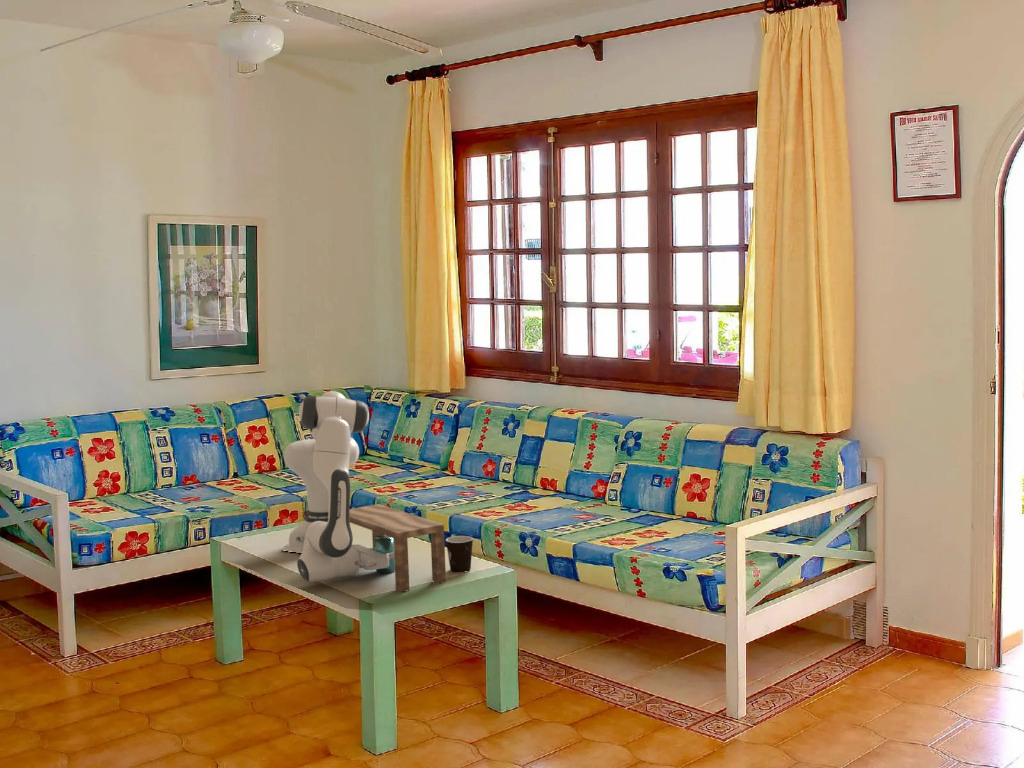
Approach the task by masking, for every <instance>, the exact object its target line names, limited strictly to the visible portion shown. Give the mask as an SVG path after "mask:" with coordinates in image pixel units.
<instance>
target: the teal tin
mask: <svg viewBox="0 0 1024 768" xmlns="http://www.w3.org/2000/svg"><path fill="white" fill-rule="evenodd" d="M374 539H375V551H377V552H380V553H382V554H387V553H388V552H393V553H394V538H392V537H389V536H386V535H384V536H378V537H375V538H374ZM394 571H395V560H394V558H392V559H389V566H388V567H387V568H382V569H376V570H375V572H376V574H378V575H388V573H390V574H393V573H395V572H394ZM392 572H393V573H392Z"/></svg>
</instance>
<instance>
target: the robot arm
mask: <svg viewBox="0 0 1024 768" xmlns="http://www.w3.org/2000/svg"><path fill="white" fill-rule="evenodd" d="M298 418H299V421H300V424H301V425H302V426H303V427H305V428H306V429H308V430H309V431H310V435H311V437H312V438H309V439H301V440H298V441H297V440H296V441H294V442H291V443H288V444H287V446H286V447H285V450H284V453H283V454H284V455H283V460H284V463H285V465H286V467H288V469H289V470H290V471H292V472H294V473H295V474H296V475H297V476H298V477H299V478H300V479H301V481H302V482H303V484H304V487H305V489H306V494H307V502H308V503H307V504H308V509H307V510H304V512H302V513H301V514H302V515H301V516H302V517H304V520H303V521H302V522H301V523H299V524H298V525H297V526H296V527H294V529H293V530H291V531H290V533H289V536H288V543H287V544H285V545H283V547H282V549H283V550H286V551H292V552H298V553H302V554H300V556H299V557H298V559H297V563H296V564H297V565H296V566H297V569H298V573H299V575H300V576H301V577H302V579H304V580H305V581H307V582H311V583H312V582H313V583H315V582H321V581H328V580H332V579H334V578H335V577H341V578H342V577H347V576H350V575H356V574H358V572H359V571H360V569H361V568H362V569H364V570H367V571H374V570H375V571H376V569H382V568H387V567H388V566H389V559H392V558H394V553H393V552H388V553H387V554H382V553H380V552H377V551H375V548H373V547H367V546H364V545H361V544H355V543H354V544H353V541H354V540H353V539H354V538H353V537H354V535H353V532H352V529H351V523H350V521H349V515H350V509H351V508H350V507H351V502H350V501H351V482H350V473H349V471H350V469H349V468H350V466H353V465H355V464H356V463H357V461H358V459H359V456H360V448H359V445H358V442H356V440H355V439H354V438H353V437H351V434H355V433H357V434H359V433H362V432H363V431H364V430H365V429H366V427H367V425H368V424H369V421H370V412H369V408H368V405H367V403H365V402H363V401H361V400H358V399H356V400H353V399H350V398H349V399H348V398H347V397H346V396H345V395H343V394H342V393H341V392H338V391H335V390H331V391H330V390H329V391H327V392H324V393H323V394H322V395H321V396H317V395H309V396H305V397H304V398H303V400H302V402H301V403H300V405H299V409H298ZM282 549H281V550H282Z"/></svg>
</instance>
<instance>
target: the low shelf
mask: <svg viewBox="0 0 1024 768" xmlns="http://www.w3.org/2000/svg"><path fill="white" fill-rule="evenodd" d="M349 521H350V524H352V525H356V526H357V527H358V526H359V527H362V528H365V529H367V530H370V531H371V532H372V534H371V535H372V536H371V537H372V538H371V539H372V548H375V539H374V538H375V537H378V536H384V535H386V536H389V537H392V538H393V539H394V560H395V572H394V580H395V590H398V591H397V592H399V591H400V592H399V593H402V592H401V591H405V592H407V591H406V590H409V591H410V567H409V566H410V565H409V545H408V544H409V543H408V542H409V541H408V539H409V538H410V539H411V538H415V537H420V536H426V535H430V549H431V551H430V552H431V553H430V554H431V557H430V558H431V578H432V581H434V582H436V583H435V584H437V583H439V584H443V583H447V575H446V574H447V573H446V571H447V569H446V548H445V545H446V542H445V524H444V523H440V522H437V521H434V520H432V519H427V518H425V517H421V516H418V515H415V514H412V513H409V512H405V511H402V510H399V509H395V508H393V507H389V506H386V505H382V504H380V503H377V504H372V505H365V506H360V507H355V508H354V507H353V508H350V515H349ZM434 582H433V583H434ZM442 582H443V583H442Z"/></svg>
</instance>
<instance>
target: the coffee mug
mask: <svg viewBox="0 0 1024 768" xmlns="http://www.w3.org/2000/svg"><path fill="white" fill-rule="evenodd" d="M473 543H474V538H473V537H472V536H466V535H456V536H449V537H447V538H446V539H445V545H446V549H447V550H446V551H447V557H448V561H449V562H448V564H449V569H450V572H451V571H452V572H451V573H454V572H464V573H466V572H465V571H468V572H470V571H471V570H470V569H472V557H473V555H472V554H473V545H474V544H473ZM469 570H470V571H469Z"/></svg>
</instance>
